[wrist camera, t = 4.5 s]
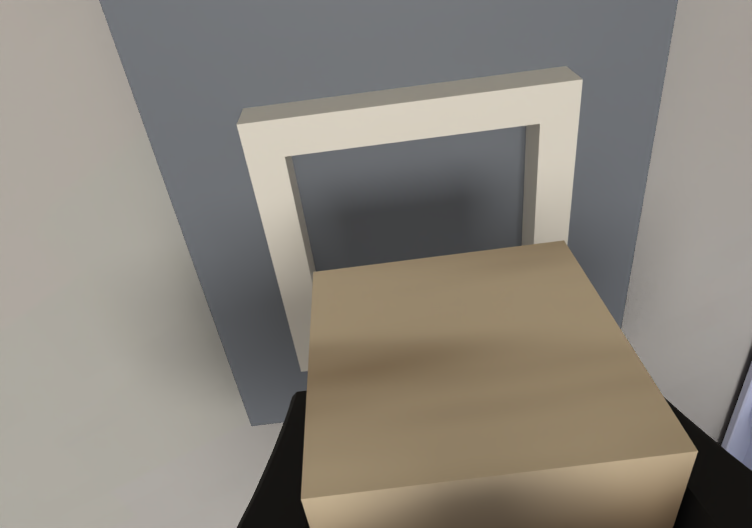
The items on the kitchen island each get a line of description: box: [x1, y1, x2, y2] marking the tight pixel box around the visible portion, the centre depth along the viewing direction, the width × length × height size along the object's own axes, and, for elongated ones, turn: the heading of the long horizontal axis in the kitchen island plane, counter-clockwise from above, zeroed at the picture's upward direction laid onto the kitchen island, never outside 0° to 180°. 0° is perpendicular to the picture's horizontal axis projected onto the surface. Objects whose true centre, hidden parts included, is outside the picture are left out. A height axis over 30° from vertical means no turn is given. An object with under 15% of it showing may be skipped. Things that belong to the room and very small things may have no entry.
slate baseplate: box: [99, 0, 678, 426], centre depth 17 cm, size 16×14×2 cm
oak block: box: [301, 240, 698, 528], centre depth 11 cm, size 5×5×5 cm
